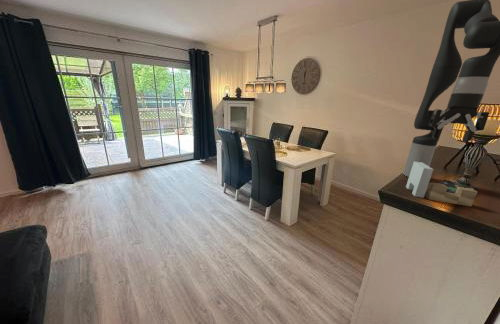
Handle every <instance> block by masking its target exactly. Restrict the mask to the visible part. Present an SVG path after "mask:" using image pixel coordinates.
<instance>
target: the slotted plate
mask: <svg viewBox="0 0 500 324" xmlns="http://www.w3.org/2000/svg"><path fill="white" fill-rule="evenodd" d="M433 172H434V168H432V167H430V166H427V165H426V164H424V163H422V162H415V161H414V163H413V166H412V169H411V172H410V175H409V177H408V179H407V183H406V185H405V188H406V189H407V190H409V191H412V193H411V194H412V195H413V197H417V198H422V199H423V198H425V196H426V193H427V190H428V187H429V184H430V180H431V177H432V174H433Z"/></svg>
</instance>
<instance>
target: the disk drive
mask: <svg viewBox="0 0 500 324" xmlns="http://www.w3.org/2000/svg"><path fill="white" fill-rule="evenodd" d="M437 183H438V184H444V185H445V186H447V187H448V188H447V191H446V192H448V193H454V194H455V193H456V190H457V187H462V186H458V185H456V184H454V183H455V182H452V180H449V179H444V180H442V181H439V182H437ZM471 187H472V188H471V189H474V190H476V187H474V186H471Z"/></svg>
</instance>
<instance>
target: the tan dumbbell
mask: <svg viewBox="0 0 500 324" xmlns="http://www.w3.org/2000/svg"><path fill="white" fill-rule="evenodd" d="M438 183H439V182H437V183H436V182H430V181H429V184H428V187H427V190H426V193H425V197H426V198H427V199H428V200H432V201H436V202H442V203H450V204H455V205H461V206H466V207H472V205H473V203H474V202H475V199H476V196H477V195H478V191H477V190H476V189H471V188H464V187H457V190H456V193H455V194H454V193H448V192H446V191H447V188H448V187H447V186H445V185H444V184H438Z"/></svg>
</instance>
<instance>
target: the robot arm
mask: <svg viewBox="0 0 500 324" xmlns="http://www.w3.org/2000/svg"><path fill="white" fill-rule="evenodd" d="M456 29H463V30H464V38H463V43H462V45H463V47H465V49H469V50H478V49H479V50H480V49H489V50H488V52H487V53H485V54H483V55H479V56H473V57H472V56H471V57H469V58H467V59H465V60H464V61H463V60H462V57H461V54H460V52H459V50H458V47H457V45H456V40H455V36H456V35H455V34H456ZM499 57H500V20H499V18H498V17H497V16H495V15H494V13H493V9H492V3H491V1H490V0H462V1H457V2H455V3H454V4H453V5H452V6H451V8H450V10H449V12H448V15H447V18H446V23H445V26H444V30H443V34H442V37H441V42H440V45H439V49H438V52H437V55H436V57H435V60H434V63H433V66H432V69H431V72H430V75H429V78H428V83H427V86H426V88H425V92H424V96H423V98H422V101H421V103H420V106H419V108H418V111H417V113H416V116H415V119H414V123H413V126H414V128H415V129H416V130H421V131H423V130H424V131H429V132H428V133H426V134H423V135H418V136H415V137H413V139H412V141H411V145H410V147H409V152H408V156H407V158H406V162H405V165H404V169H403V172H402V175H403V174H404V175H405V176H404V175H403V176H404V177H406V176H407V177H406V178H409V175H410V172H411V169H412V166H413V163H414V161H415V162H422V163H424V164H426V165H427V166H429V167H430V166H431V163H432V160H433V156H434V153H435V150H436V147H437V144H438V142H439V140H440V138H441V134H442V133H443V130H444V128H445V126H447V125H449V124H458V125H463V126H464V127H465V129H466V131H465V132H464V135H463V138H462V140H461V142H463V143H466V144H467V143H469V142H471V141H472V139H473V136H474V134H475V133H476V132H479V131H484V130H485V127H486V125H487V121H488V118H489V115H490V112H488V111H479V112H478V108H479V107H480V105H481V103H482V101H483V97H484V95H485V93H486V91H487V87H488V86H489V85H488V84H489V80H490V76H491V74H492V72H493V69H494V67H495V64H496V63H497V61H498V59H499ZM454 83H455V84H454ZM453 84H454V86H453ZM452 86H453V89H452V91H451V95H450V97H449V100H448V103H447V106H446V108H445V109H444V110H443V109H438V108H435V109H434V110H432V109H431V110H430V108H431V106H432V104H433V103H434V101H436V99H437V98H438V97H440V96H441V95H442V94H443V93H444V92H446V91H447V90H448V89H449V88H450V87H452ZM475 117H476V122H474V121H473V119H474V118H475Z"/></svg>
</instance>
